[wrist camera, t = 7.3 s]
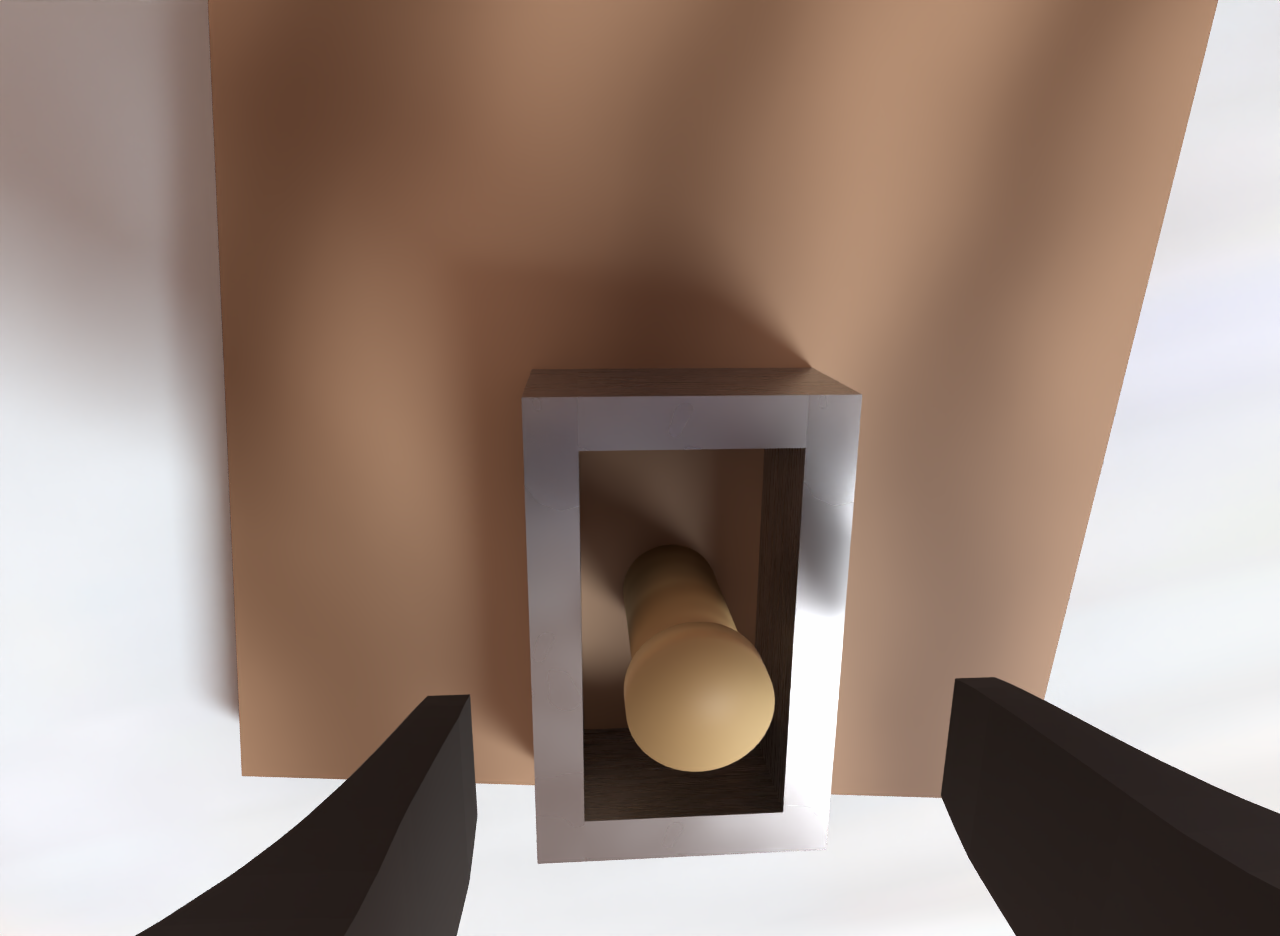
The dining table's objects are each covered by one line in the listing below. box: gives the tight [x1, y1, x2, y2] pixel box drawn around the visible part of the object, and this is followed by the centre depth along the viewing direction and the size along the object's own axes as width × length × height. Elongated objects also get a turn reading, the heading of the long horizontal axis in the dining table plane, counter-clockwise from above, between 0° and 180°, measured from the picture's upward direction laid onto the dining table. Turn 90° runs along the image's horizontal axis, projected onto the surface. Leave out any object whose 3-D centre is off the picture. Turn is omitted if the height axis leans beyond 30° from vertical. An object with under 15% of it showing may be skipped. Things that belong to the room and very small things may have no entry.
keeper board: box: [208, 0, 1218, 798], centre depth 14 cm, size 18×24×6 cm
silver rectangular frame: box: [521, 367, 862, 864], centre depth 16 cm, size 6×9×3 cm, turn 0°
